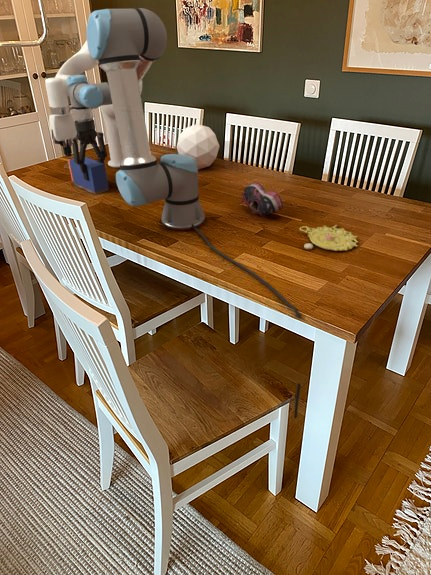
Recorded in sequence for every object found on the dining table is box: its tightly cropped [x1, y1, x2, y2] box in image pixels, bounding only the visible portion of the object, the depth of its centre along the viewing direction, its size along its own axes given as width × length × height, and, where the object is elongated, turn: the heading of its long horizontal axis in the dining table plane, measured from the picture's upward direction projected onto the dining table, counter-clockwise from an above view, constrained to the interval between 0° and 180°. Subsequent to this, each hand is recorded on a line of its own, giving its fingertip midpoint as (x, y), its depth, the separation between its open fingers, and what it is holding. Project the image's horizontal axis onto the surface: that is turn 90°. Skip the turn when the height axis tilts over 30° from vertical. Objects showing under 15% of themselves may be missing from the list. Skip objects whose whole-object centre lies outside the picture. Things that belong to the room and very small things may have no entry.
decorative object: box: [299, 224, 359, 252], centre depth 141 cm, size 21×2×20 cm
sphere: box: [175, 123, 221, 170], centre depth 203 cm, size 19×20×20 cm
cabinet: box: [68, 156, 110, 195], centre depth 186 cm, size 17×7×11 cm, turn 44°
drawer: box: [63, 159, 74, 183], centre depth 190 cm, size 22×5×9 cm, turn 44°
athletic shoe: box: [238, 182, 284, 217], centre depth 160 cm, size 11×22×12 cm
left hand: (68, 155), depth 192 cm, fingers closed
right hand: (94, 177), depth 183 cm, fingers closed on cabinet, 7 cm apart
